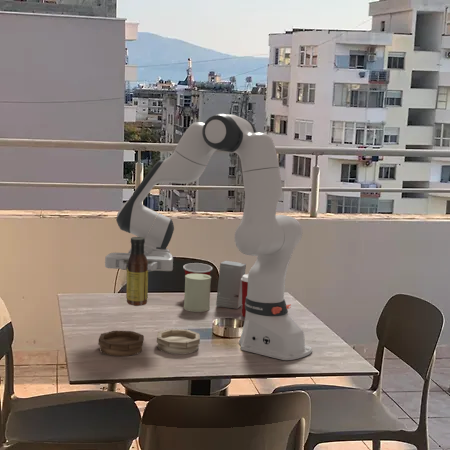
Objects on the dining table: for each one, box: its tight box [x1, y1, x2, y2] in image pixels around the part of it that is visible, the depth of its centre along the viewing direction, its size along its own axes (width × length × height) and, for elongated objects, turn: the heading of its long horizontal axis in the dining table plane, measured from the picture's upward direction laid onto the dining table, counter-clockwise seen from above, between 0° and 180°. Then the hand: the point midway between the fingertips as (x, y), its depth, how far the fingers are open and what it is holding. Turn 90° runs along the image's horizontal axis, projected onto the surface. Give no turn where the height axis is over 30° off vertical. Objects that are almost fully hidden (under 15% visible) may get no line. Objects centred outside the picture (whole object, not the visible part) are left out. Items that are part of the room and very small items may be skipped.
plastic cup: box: [183, 262, 213, 276], centre depth 268 cm, size 11×11×12 cm
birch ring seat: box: [156, 328, 201, 355], centre depth 213 cm, size 12×12×4 cm
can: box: [183, 274, 212, 313], centre depth 254 cm, size 9×9×12 cm
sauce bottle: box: [125, 236, 149, 307], centre depth 212 cm, size 6×6×20 cm
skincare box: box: [215, 260, 247, 310], centre depth 259 cm, size 8×7×16 cm
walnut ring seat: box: [98, 330, 145, 357], centre depth 208 cm, size 12×12×4 cm
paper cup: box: [241, 273, 249, 318], centre depth 248 cm, size 8×8×14 cm
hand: (136, 267), depth 211 cm, fingers closed on sauce bottle, 6 cm apart
